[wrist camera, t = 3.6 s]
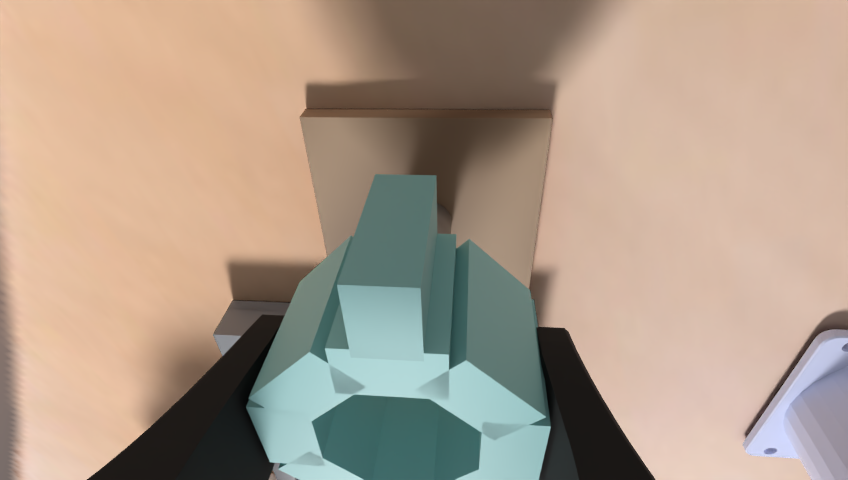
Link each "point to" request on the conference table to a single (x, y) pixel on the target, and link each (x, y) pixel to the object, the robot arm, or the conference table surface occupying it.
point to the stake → (436, 171)
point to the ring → (405, 357)
